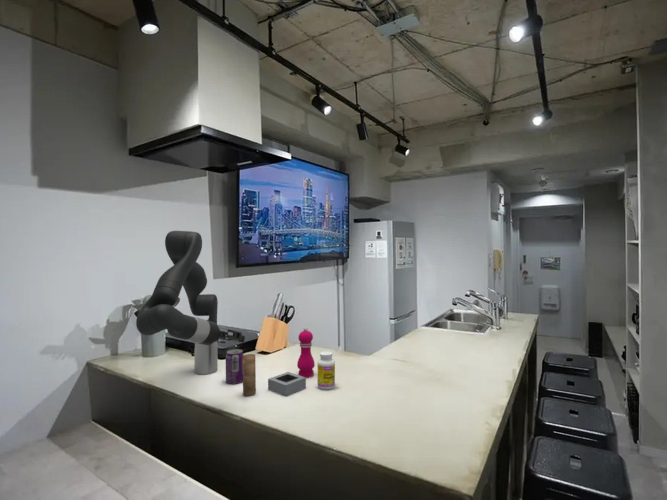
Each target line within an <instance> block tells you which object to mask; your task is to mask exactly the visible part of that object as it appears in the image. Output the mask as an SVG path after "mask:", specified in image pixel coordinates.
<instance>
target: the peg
mask: <svg viewBox="0 0 667 500" xmlns="http://www.w3.org/2000/svg"><path fill="white" fill-rule="evenodd" d="M256 383H257V380H256V354H254V353H247V354H244V355H243V380H242V395H243V396H244V397H248V398H249V397H253V396H255V395H256V394H257V387H256V386H257V385H256Z"/></svg>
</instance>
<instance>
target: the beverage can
mask: <svg viewBox="0 0 667 500" xmlns="http://www.w3.org/2000/svg"><path fill="white" fill-rule="evenodd" d="M243 351H244V350H243V349H239V348H234V349H230V350H227V351H226V355H225V382H226V383H229V384H232V385H233V384H239V383H241V382H243V355H245V354H244V352H243Z"/></svg>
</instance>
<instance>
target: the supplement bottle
mask: <svg viewBox="0 0 667 500" xmlns="http://www.w3.org/2000/svg"><path fill="white" fill-rule="evenodd" d="M319 357H320V358H319V359H318V360H317V387H318V388H319V389H320V390H331V389H333V388H335V386H336V371H335V370H336V367H335V366H336V363H335V360H334V359H333V352H331V351H321V352H320V353H319Z"/></svg>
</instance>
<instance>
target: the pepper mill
mask: <svg viewBox="0 0 667 500" xmlns="http://www.w3.org/2000/svg"><path fill="white" fill-rule="evenodd" d="M312 340H314V335H313V333H312V332H311V331H309V330H308V327H304V328H303V330H302V331H301V332H299V334H298V341H299V347H300V354H299V355H300V356H299V357H298V360H297V362H296V363H297V369H298V375H299V376H302V377H306V379H308V378H311V377H313V376H314V374H315V373H314V367H315V360H314V357H313V355H312V350H311V349H312V348H311V347H313V345H312V344H313V343H312Z"/></svg>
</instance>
